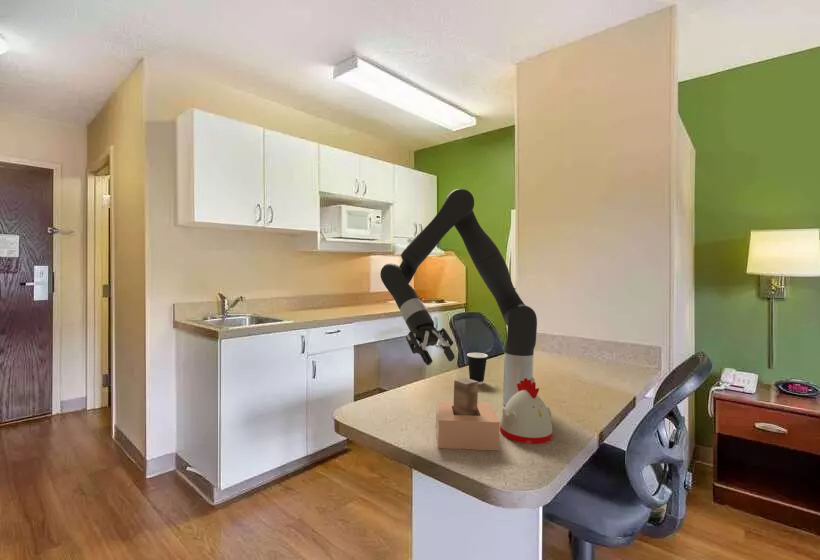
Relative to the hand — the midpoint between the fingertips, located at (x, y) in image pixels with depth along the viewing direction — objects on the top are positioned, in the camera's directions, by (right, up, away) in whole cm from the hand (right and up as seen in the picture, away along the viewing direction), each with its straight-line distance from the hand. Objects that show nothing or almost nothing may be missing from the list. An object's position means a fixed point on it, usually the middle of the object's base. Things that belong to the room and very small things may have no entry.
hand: (441, 361), depth 118 cm
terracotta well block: (+6, -19, -7) cm, 21 cm away
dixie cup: (+17, -17, +45) cm, 51 cm away
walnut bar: (+6, -18, -7) cm, 20 cm away
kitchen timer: (+23, -19, -3) cm, 30 cm away
